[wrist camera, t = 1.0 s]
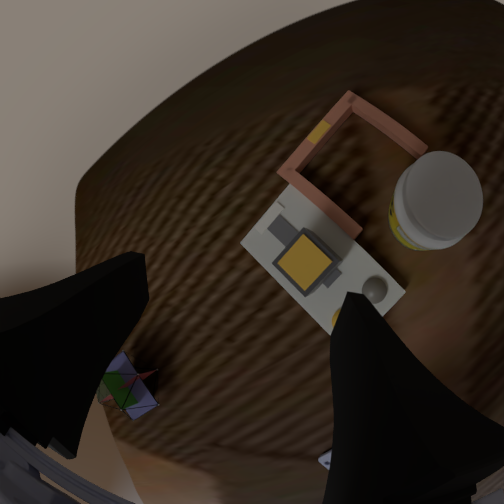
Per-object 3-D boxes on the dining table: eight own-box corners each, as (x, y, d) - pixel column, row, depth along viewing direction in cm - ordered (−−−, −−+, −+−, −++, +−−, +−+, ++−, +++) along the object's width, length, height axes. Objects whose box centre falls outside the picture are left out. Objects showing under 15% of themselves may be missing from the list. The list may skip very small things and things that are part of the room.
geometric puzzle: (138, 333, 25) (72, 369, 20) (177, 392, 23) (109, 432, 18) (143, 350, 30) (90, 379, 26) (175, 397, 28) (121, 429, 24)
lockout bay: (425, 152, 17) (428, 146, 16) (353, 240, 19) (352, 239, 18) (350, 97, 19) (348, 89, 18) (281, 176, 21) (276, 172, 20)
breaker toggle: (343, 260, 18) (339, 261, 16) (314, 292, 19) (304, 297, 16) (312, 231, 19) (302, 226, 17) (284, 262, 20) (270, 263, 17)
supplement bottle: (407, 173, 17) (425, 122, 10) (456, 210, 16) (504, 182, 8) (375, 226, 19) (378, 205, 11) (425, 264, 17) (461, 270, 9)
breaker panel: (404, 290, 18) (406, 292, 17) (346, 347, 19) (345, 352, 18) (292, 185, 21) (289, 182, 20) (244, 243, 23) (238, 242, 22)
